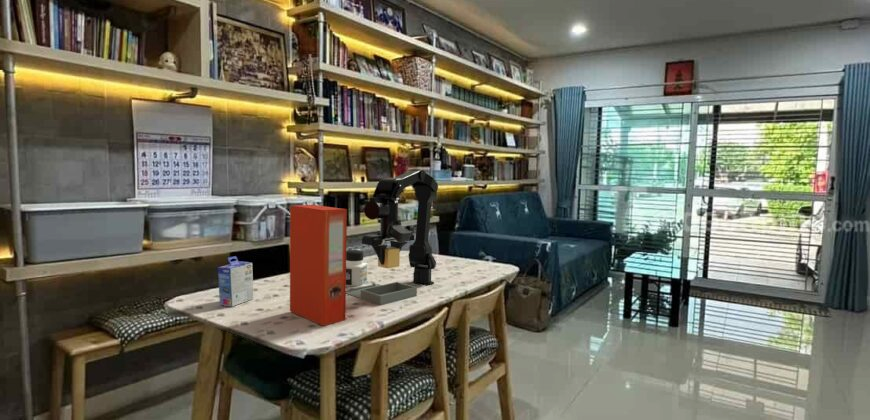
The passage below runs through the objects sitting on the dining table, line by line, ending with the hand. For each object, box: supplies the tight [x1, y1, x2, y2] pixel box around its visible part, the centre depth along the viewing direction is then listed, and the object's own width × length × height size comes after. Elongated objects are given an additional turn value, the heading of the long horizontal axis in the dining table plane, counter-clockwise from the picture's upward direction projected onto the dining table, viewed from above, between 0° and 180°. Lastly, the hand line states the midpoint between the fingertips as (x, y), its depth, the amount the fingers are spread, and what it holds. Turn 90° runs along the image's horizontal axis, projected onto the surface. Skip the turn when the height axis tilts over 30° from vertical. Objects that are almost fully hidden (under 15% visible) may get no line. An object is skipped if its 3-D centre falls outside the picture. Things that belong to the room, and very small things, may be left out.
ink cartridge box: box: [217, 255, 254, 308], centre depth 148 cm, size 10×6×14 cm, turn 161°
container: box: [346, 248, 368, 288], centre depth 174 cm, size 8×8×13 cm
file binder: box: [289, 204, 348, 326], centre depth 136 cm, size 8×17×32 cm, turn 46°
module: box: [377, 245, 401, 270], centre depth 155 cm, size 5×5×6 cm
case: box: [360, 281, 418, 306], centre depth 156 cm, size 16×11×4 cm, turn 137°
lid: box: [346, 282, 382, 299], centre depth 163 cm, size 16×10×2 cm, turn 137°
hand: (388, 263), depth 156 cm, fingers closed on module, 5 cm apart
